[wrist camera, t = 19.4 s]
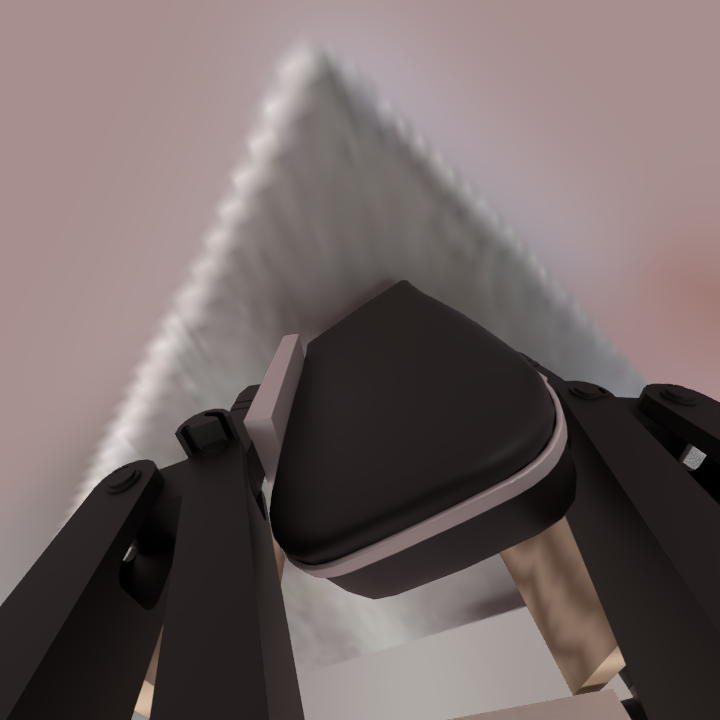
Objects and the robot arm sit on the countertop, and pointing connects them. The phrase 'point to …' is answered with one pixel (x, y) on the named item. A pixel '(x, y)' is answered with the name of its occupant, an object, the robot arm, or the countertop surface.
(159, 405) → the countertop surface
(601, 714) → the pale pink long bar
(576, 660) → the wooden stand
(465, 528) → the battery charger
